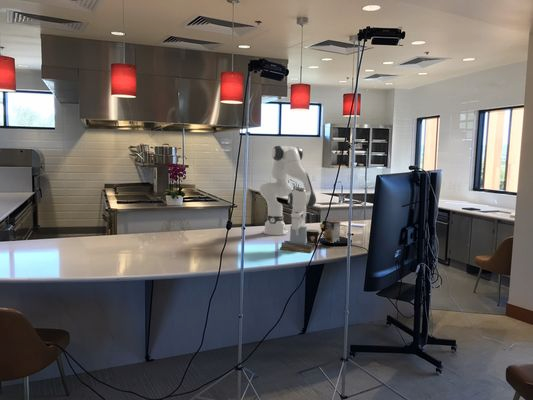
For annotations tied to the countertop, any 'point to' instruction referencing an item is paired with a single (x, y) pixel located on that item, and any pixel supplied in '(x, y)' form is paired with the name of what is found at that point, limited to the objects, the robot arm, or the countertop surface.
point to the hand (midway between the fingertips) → (298, 234)
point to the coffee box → (331, 231)
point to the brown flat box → (297, 247)
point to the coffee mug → (313, 236)
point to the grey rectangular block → (298, 238)
